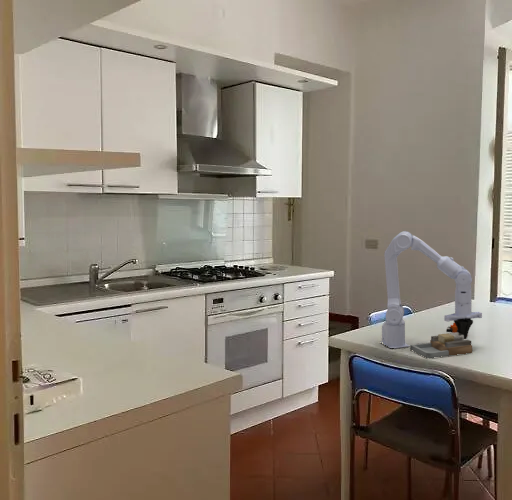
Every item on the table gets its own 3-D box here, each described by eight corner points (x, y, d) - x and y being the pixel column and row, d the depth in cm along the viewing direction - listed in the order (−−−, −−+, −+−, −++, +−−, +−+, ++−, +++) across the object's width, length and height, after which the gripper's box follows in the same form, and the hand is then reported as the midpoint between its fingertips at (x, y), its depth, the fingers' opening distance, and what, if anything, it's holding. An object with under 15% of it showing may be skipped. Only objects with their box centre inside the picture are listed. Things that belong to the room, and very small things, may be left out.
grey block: (447, 341, 208) (447, 333, 207) (457, 340, 209) (457, 332, 208) (454, 343, 204) (454, 335, 204) (463, 342, 205) (463, 334, 205)
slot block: (430, 347, 211) (430, 336, 210) (452, 345, 213) (452, 333, 213) (448, 356, 199) (448, 344, 199) (472, 353, 201) (472, 341, 201)
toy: (443, 324, 222) (451, 316, 234) (443, 339, 222) (451, 330, 235) (464, 326, 218) (471, 317, 230) (464, 341, 218) (471, 332, 231)
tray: (410, 350, 209) (410, 344, 208) (430, 347, 211) (430, 342, 211) (427, 359, 197) (427, 353, 197) (448, 356, 199) (448, 350, 199)
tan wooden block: (438, 342, 207) (438, 334, 206) (447, 341, 208) (447, 333, 207) (444, 345, 203) (444, 337, 203) (454, 343, 204) (454, 335, 204)
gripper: (452, 306, 200) (452, 343, 201) (487, 302, 204) (487, 339, 205) (441, 302, 207) (441, 338, 208) (475, 299, 210) (475, 334, 212)
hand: (463, 338), depth 207 cm, fingers closed
